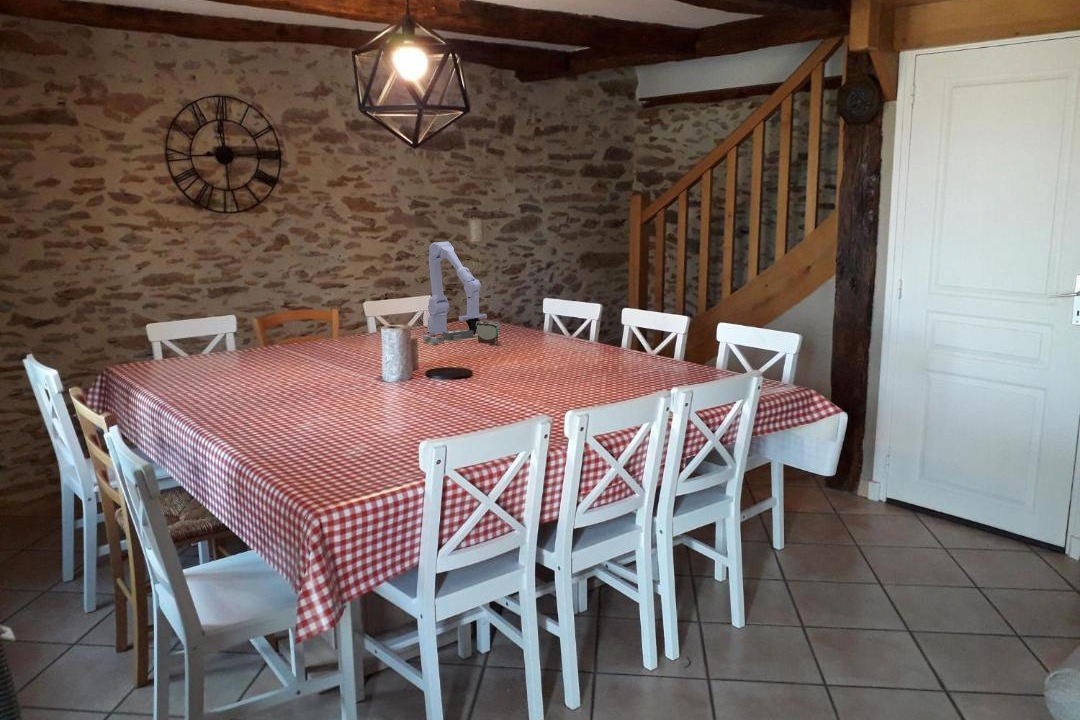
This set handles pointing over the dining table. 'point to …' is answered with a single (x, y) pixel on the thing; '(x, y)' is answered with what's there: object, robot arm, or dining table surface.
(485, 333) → the food container
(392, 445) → the dining table surface
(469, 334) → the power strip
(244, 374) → the dining table surface
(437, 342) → the mount
